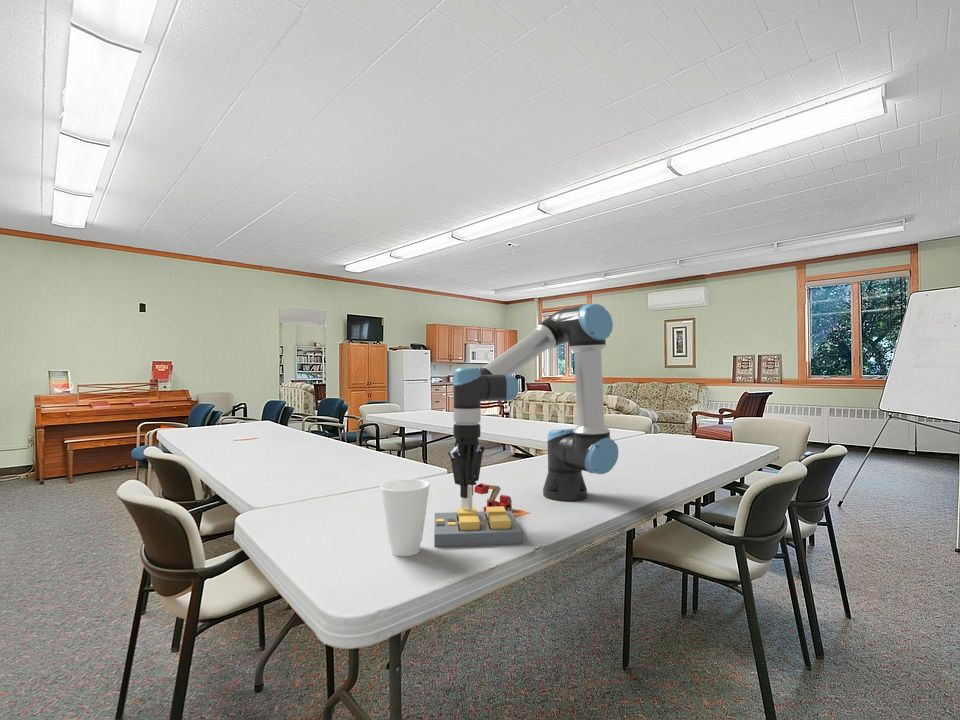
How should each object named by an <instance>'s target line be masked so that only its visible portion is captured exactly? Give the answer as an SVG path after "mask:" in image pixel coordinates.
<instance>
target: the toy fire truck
mask: <svg viewBox="0 0 960 720" xmlns="http://www.w3.org/2000/svg"><path fill="white" fill-rule="evenodd" d="M489 490H491V493H490V496H489V498H488V499H487V500H486V506H483V512H484V511H486V507H501V506H504V508H505V510H506V511H511V510H512V509H513V508H512V507H513V506H512V505H513V504H512V502H513V501H512V498H511V496H509V495H506V494H505V495H504V494H501V495H499V493H500V492H501V486H499V485H495V484H494V485H493V484H486V483H482V482H480V483H478V484H476V485H474V488H473V493H476V494H479V495H486V494H489ZM498 495H499V501H497V500H496V499H497V497H498Z"/></svg>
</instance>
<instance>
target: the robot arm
mask: <svg viewBox="0 0 960 720" xmlns="http://www.w3.org/2000/svg"><path fill="white" fill-rule="evenodd" d="M613 328H614V323H613V318H612V315H611V314H610V312H609V311H608V310H607V308H606V307H604V306H603V305H601V304H598V303H586V304H585V303H584V304H580V305H576V306H571V307H565V308H562V309H559V310H558V311H556V312H554V313H553V314H552V315H549V316H548V317H547V318H546V319H544V320H543V321H541V322H540V323H538V324H537V325H536V326H535V327H534V330H533V331H532V332H531V333H529V334H527V336H525V337H524V338H522V339H520V340H519V341H518V342H517V343H515V344H514V345H513V346H511V347H509V349H507V350H505V351H503V352H502V353H501V354H500V355H498V356H497V357H495V358H494V359H492V360H491V361H490V362H489V363H487V364H486V365H484V366H482V367H481V368H479V367H457V368H456V369H454V372H453V378H452V379H453V382H452V386H453V389H452V390H453V422H454V424H453V432H452V433H453V437H454V439H455V442H454V447H453V449H452V450H449V451H448V452H447V453H448V457H449V458H450V463H451V469H452V473H453V475H452V476H453V480H454V484H455V485H457V486H458V485H459V486H460V488H459V489H460V493H459V495H460V498H461V500H460V501H461V502H460V503H461V507H460V508H461V509H465V510H471V509H472V507H473V496H474V486H476V485H478V484H477V482H478V481H479V480H480V474H481V473H480V472H481V467H482V458H483V454H484V451H485V448H486V447H485V446H483V445H481V444H480V442H479V438H480V437H481V424H480V422H481V418H482V417H481V402H507V401H513V400H516V398H517V396H518V394H519V382H518V381H519V380H517V378H516V377H515V376H514V374H515V373H517V372H518V371H519V370H521V369H522V368H523V367H525V366H526V365H528V364H529V363H530V362H532V361H533V360H534V359H536V358H537V357H538V356H540V355H541V354H543V353H544V352H545V351H547V350H553V349H554V348H556V347H558V346H560V345H562V344H566V343H568V348H570V350H572V352H573V356H574V358H573V359H574V360H573V361H574V379H575V380H574V381H575V401H576V402H575V403H576V419H577V420H576V421H577V422H576V423H577V425H576V427H575V428H564V429H563V428H562V429H552V430H549V431H548V433H547V441H546V442H547V474H546V479H545V481H544V483H543V484H544V485H543V488H542V495H543V497H545V498H547V499H550V500H556V501H564V502H565V501H566V502H572V501H581V500H585V499H586V498H587V497H588V488H587V486H586V483H585V479H584V476H583V472H587V473H590V474H593V475H594V474H595V475H596V474H597V475H604V474H607V473H609V472H611V470H612V469H613V468H614V466H615V465H616V463H617V462H618V459H619V446H618V444H617V443H616V442H615V440H614V439H613V438H611V435H610V434H611V432H610V431H611V430H610V429H609V428H608V427H607V426H606V425H605V407H604V405H605V404H604V403H605V402H604V383H603V365H602V364H603V361H602V358H603V357H602V351H603V349H604V348H605V347H606V346H607V345H606V341H607V339H608V338H609V337H610V336H611V333H612V332H613Z"/></svg>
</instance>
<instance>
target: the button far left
mask: <svg viewBox="0 0 960 720" xmlns="http://www.w3.org/2000/svg"><path fill="white" fill-rule="evenodd" d="M485 507H486V506H485ZM506 511H507V510H505V508H504V506H501V507H486V515H487V518H488V520H489V515H506Z"/></svg>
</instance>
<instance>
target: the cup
mask: <svg viewBox="0 0 960 720" xmlns="http://www.w3.org/2000/svg"><path fill="white" fill-rule="evenodd" d="M430 486H431V484H430V483H429V482H428V481H426V480H422V479H413V478H411V479H410V478H409V479H408V478H407V479H406V478H405V479H395V480H391V481H390V480H389V481H386V482H384V483H382V484H381V485H380V490H381V496H382V497H381V498H382V504H383V511H384V519H385V526H386V532H387V533H386V534H387V540H388V543H389V546H390V547H389V548H390V553H391V554H392V555H393V556H395V557H410V556H414V555H417V554H419V553H420V550H421V544H422V543H421V542H422V540H423V535H424V528H425V527H424V526H425V521H426V513H427V504H428V498H429V490H430Z"/></svg>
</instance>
